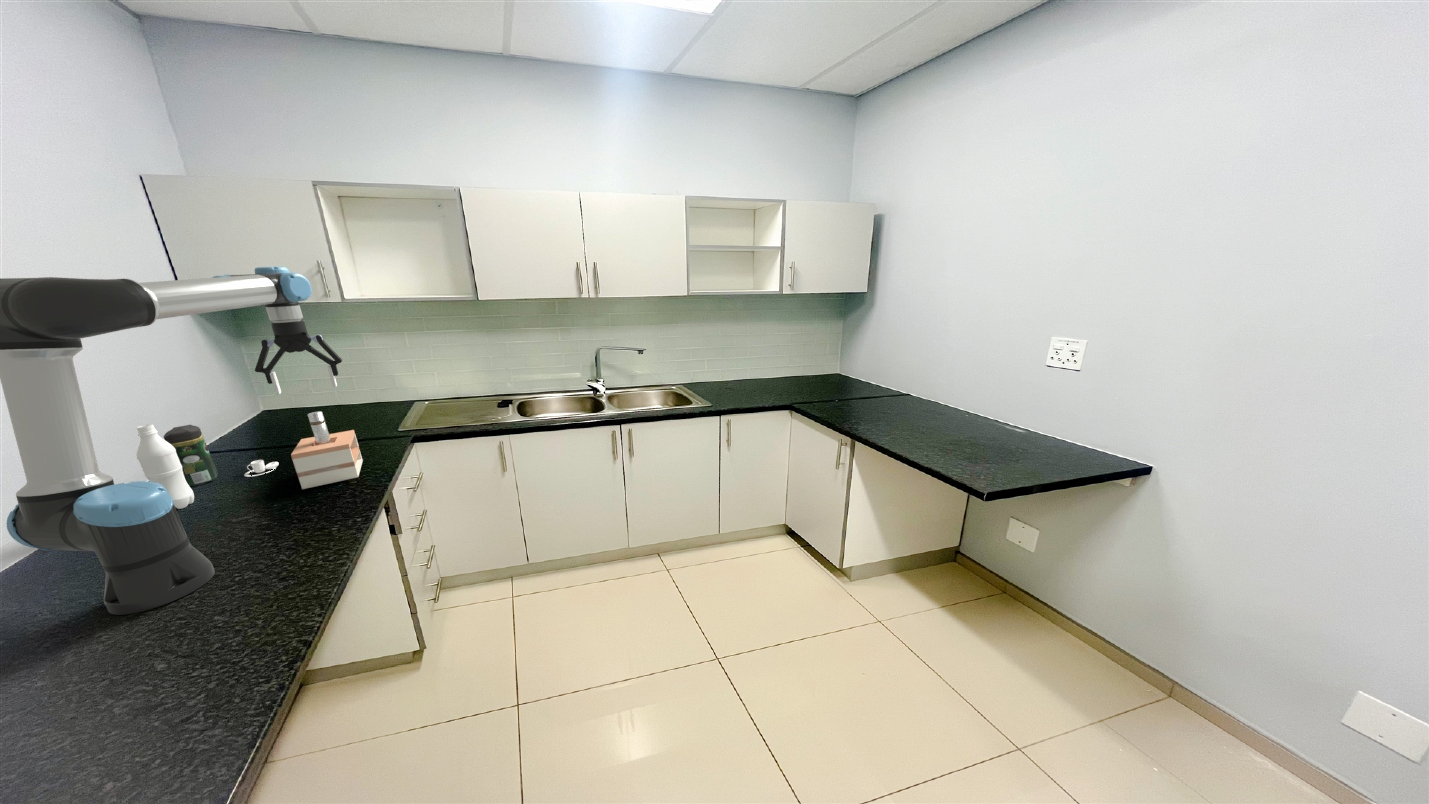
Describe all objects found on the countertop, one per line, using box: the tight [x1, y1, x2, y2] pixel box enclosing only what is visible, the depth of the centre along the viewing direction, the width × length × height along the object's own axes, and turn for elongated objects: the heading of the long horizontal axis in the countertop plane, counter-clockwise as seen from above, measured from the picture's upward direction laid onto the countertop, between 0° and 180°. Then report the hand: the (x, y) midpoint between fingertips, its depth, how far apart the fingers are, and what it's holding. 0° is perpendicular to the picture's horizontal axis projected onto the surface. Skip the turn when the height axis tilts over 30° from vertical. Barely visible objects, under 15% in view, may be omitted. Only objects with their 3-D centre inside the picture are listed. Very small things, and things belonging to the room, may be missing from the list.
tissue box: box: [290, 429, 364, 490], centre depth 151 cm, size 16×14×12 cm
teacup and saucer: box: [243, 459, 279, 478], centre depth 157 cm, size 9×8×4 cm
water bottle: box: [136, 423, 195, 510], centre depth 131 cm, size 7×7×25 cm
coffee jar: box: [163, 424, 219, 487], centre depth 149 cm, size 10×8×19 cm
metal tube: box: [307, 410, 332, 445], centre depth 150 cm, size 4×4×20 cm
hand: (307, 389), depth 144 cm, fingers open, 13 cm apart
